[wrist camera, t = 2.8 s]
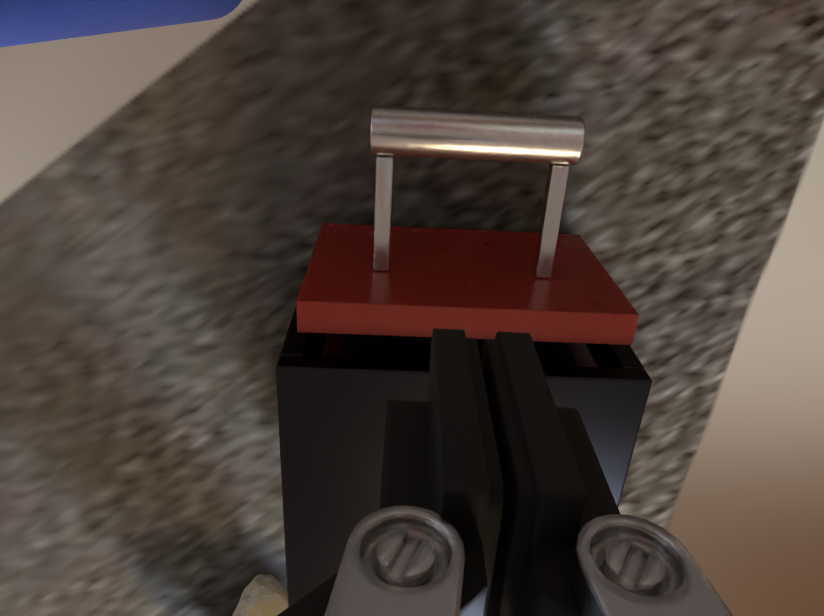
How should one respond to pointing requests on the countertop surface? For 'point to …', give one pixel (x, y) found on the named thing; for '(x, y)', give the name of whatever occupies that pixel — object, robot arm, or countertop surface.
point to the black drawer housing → (365, 428)
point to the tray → (463, 254)
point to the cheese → (262, 598)
